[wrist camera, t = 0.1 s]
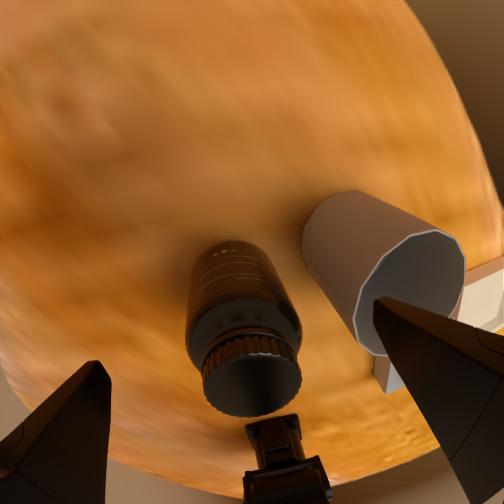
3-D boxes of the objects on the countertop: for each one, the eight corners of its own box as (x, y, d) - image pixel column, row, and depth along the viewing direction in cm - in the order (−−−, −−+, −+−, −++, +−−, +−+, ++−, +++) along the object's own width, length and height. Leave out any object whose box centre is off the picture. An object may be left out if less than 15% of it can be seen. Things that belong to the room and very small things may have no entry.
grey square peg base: (426, 352, 32) (440, 369, 28) (373, 374, 31) (385, 394, 28) (436, 301, 29) (454, 317, 25) (377, 323, 28) (393, 343, 25)
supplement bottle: (282, 302, 26) (326, 410, 15) (205, 322, 25) (208, 439, 14) (265, 228, 23) (315, 316, 12) (179, 251, 23) (156, 356, 12)
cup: (389, 185, 23) (474, 220, 14) (388, 272, 26) (453, 332, 17) (295, 199, 22) (353, 246, 13) (304, 293, 26) (348, 372, 16)
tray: (496, 317, 33) (505, 325, 30) (437, 349, 32) (446, 360, 30) (511, 251, 28) (523, 258, 26) (451, 277, 28) (464, 287, 26)
